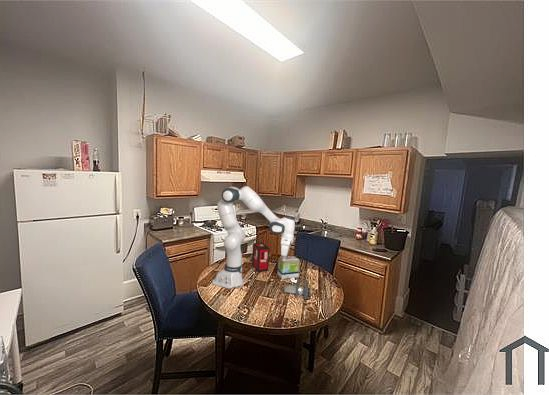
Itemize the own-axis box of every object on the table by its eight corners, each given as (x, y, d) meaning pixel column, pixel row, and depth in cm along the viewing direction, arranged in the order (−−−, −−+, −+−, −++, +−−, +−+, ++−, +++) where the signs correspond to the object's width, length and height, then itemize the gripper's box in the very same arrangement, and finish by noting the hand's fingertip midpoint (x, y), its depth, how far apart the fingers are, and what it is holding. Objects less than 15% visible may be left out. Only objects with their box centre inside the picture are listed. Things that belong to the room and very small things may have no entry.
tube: (284, 293, 156) (284, 288, 154) (285, 288, 161) (285, 282, 159) (309, 297, 153) (310, 292, 151) (310, 292, 158) (310, 286, 156)
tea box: (282, 279, 176) (283, 261, 174) (277, 274, 185) (278, 257, 183) (298, 277, 181) (300, 259, 180) (293, 272, 191) (294, 255, 189)
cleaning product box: (268, 270, 190) (269, 248, 188) (258, 272, 186) (259, 249, 184) (261, 263, 205) (262, 242, 203) (251, 264, 201) (253, 243, 199)
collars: (295, 296, 152) (296, 284, 151) (296, 289, 162) (297, 277, 161) (310, 299, 150) (311, 286, 149) (311, 291, 160) (312, 279, 159)
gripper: (285, 235, 170) (283, 252, 171) (280, 242, 150) (278, 262, 151) (293, 236, 169) (291, 253, 170) (289, 244, 149) (287, 264, 150)
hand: (285, 257), depth 161 cm, fingers open, 8 cm apart
